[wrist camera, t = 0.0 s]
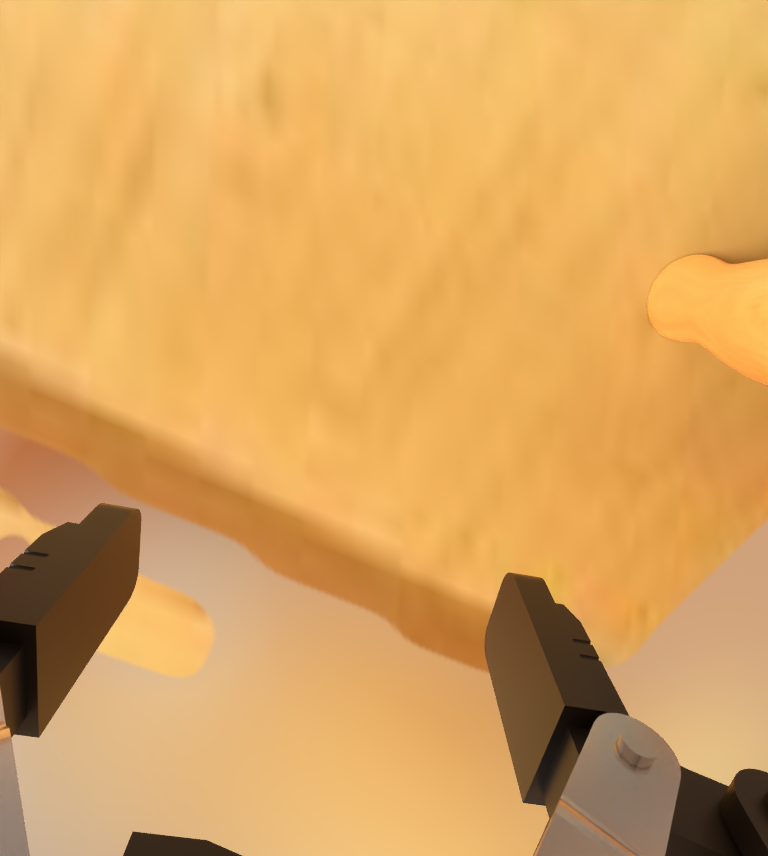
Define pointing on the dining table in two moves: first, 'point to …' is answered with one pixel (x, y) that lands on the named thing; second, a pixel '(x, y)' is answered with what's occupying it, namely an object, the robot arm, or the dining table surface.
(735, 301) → the tumbler
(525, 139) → the dining table surface
